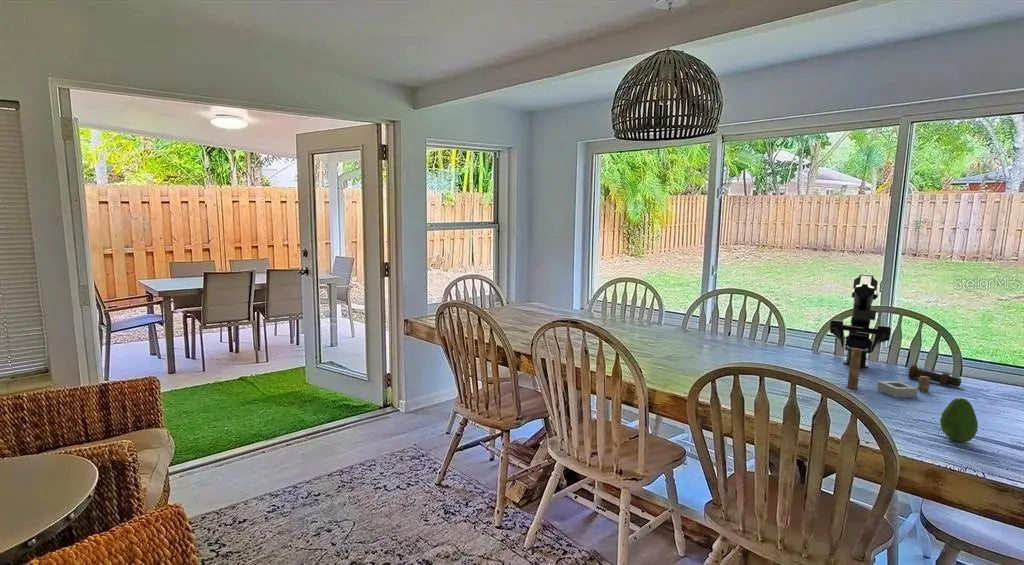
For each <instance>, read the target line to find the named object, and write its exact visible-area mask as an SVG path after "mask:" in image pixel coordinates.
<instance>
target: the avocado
mask: <svg viewBox="0 0 1024 565" xmlns="http://www.w3.org/2000/svg"><path fill="white" fill-rule="evenodd" d="M939 421H940V422H939V423H940V427H941V428H940V429H941V431H942V432H943V433H944V434H945V435H946V437H948V438H949V439H951V440H953V441H955V442H957V443H965V442H969V441H971V440H973V439H974V438H975V436H976V434H977V432H978V428H979V422H978V418H977V414H976V412H975V409H974V407H973V406H972V404H971V402H970V401H969V400H968V399H966V398H963V397H957V398H954V399H953V400H951V402H949V404H947V406H946V408H945V409H944V410H943V411H942V413H941V417H940V420H939Z"/></svg>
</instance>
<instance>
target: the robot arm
mask: <svg viewBox="0 0 1024 565" xmlns="http://www.w3.org/2000/svg"><path fill="white" fill-rule="evenodd" d="M878 283H879V281H878V280H876V279H875V278H874V275H872V274H867V273H861V274H860V273H859V275H858V277H856V278H855V279H854V280H853V285H852V286H853V287H852V291H851V298H853V308H852V316H851V319H850V320H851V322H850V324H844V320H839V319H838V320H837V319H831V320H830V325H829V334H832V335H833V336H836V338H837V340H838V342H839V344H840V347H841V349H842V348H844V350H845V351H847V354H846V361H843V362H842V364H844V365H847V366H849V367H850V360H851V352H852V348H857V349H861V350H862V354H861V362H860V369H861V368H869V365H867V364H866V362H867V354H871V353H873V352H874V351H875V350H876V348H877V347H878V345H880V344H881V343H885V342H888V341H890V338H891V333H892V328H891V326H888V325H880V324H878V325H877V328H872V327H871V328H870V324H871V321H875V320H876V317H877V316H876V314H877V310H873V309H872V305H873V302H874V301H876V299H878V297H879V294H878V292H877V290H878ZM844 331H848V335H846V338H845V346H844ZM870 335H874V339H873V341H872V338H871V337H870Z"/></svg>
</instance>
